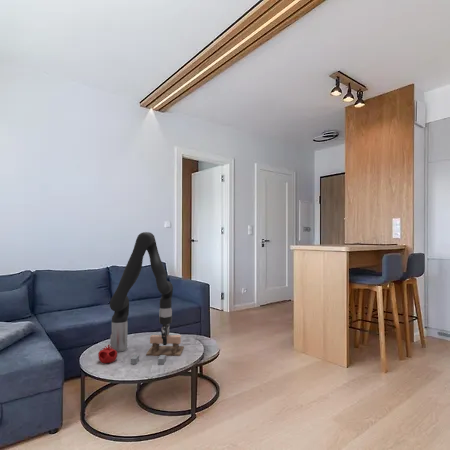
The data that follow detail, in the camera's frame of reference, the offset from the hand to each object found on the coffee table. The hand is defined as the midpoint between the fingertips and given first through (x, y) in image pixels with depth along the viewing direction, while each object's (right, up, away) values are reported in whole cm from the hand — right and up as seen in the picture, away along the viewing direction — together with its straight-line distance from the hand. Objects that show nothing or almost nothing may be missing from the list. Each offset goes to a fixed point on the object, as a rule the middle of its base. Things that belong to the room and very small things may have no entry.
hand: (165, 343), depth 203 cm
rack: (0, -5, 0) cm, 5 cm away
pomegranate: (-29, -5, -15) cm, 33 cm away
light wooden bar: (0, +1, 0) cm, 1 cm away
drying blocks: (-6, -4, -17) cm, 19 cm away
